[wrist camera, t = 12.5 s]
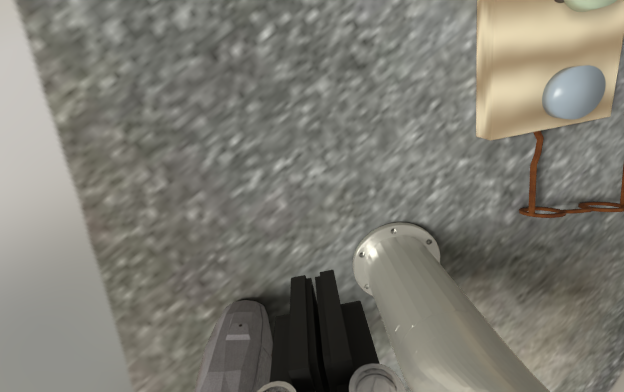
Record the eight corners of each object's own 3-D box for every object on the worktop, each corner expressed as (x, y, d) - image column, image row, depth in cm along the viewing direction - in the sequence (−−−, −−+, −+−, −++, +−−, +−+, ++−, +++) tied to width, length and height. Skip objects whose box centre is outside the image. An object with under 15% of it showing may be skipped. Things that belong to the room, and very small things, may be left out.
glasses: (509, 210, 41) (536, 225, 37) (526, 115, 37) (560, 119, 32) (599, 202, 42) (637, 216, 37) (627, 107, 37) (674, 110, 32)
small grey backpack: (221, 286, 43) (163, 440, 24) (278, 284, 43) (264, 433, 25) (232, 362, 48) (192, 536, 29) (283, 359, 48) (274, 530, 30)
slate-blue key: (587, 112, 32) (601, 114, 31) (539, 122, 32) (551, 123, 31) (593, 61, 30) (609, 60, 29) (544, 72, 30) (557, 71, 29)
